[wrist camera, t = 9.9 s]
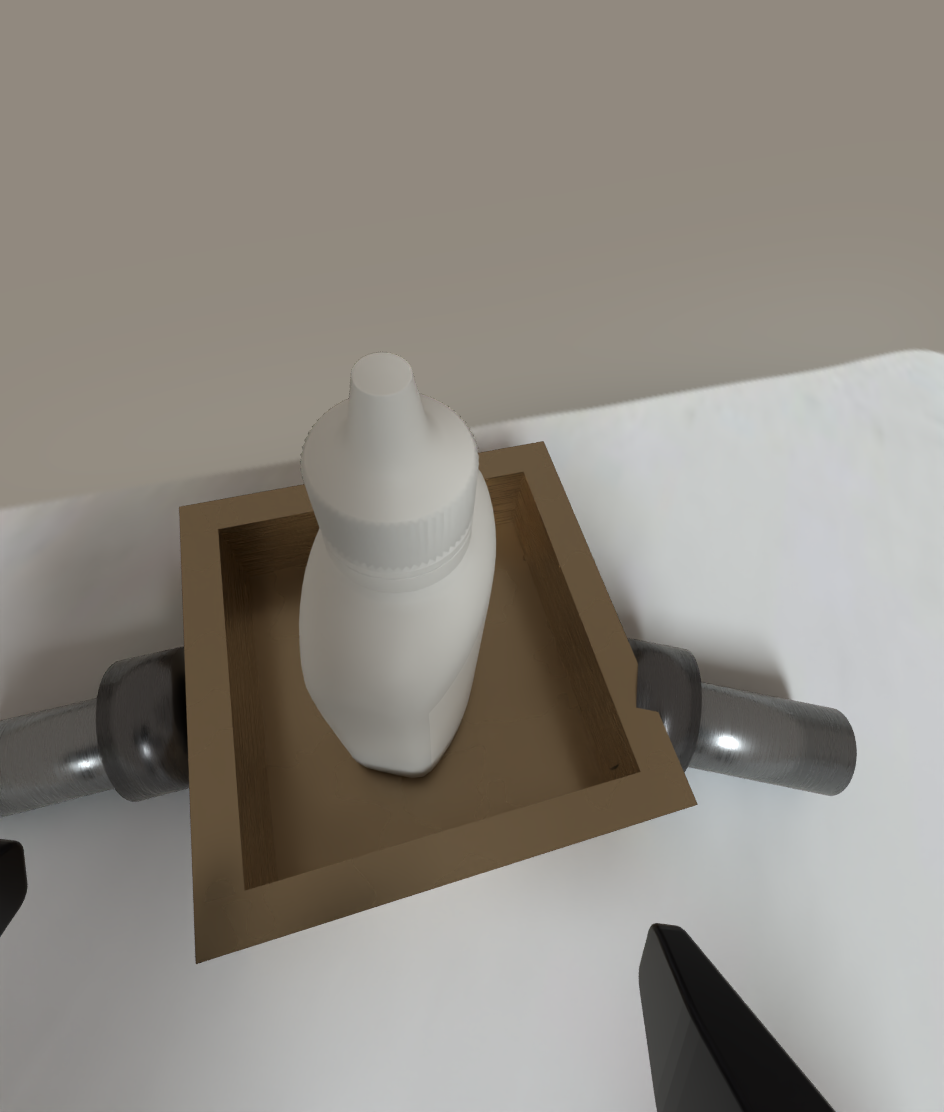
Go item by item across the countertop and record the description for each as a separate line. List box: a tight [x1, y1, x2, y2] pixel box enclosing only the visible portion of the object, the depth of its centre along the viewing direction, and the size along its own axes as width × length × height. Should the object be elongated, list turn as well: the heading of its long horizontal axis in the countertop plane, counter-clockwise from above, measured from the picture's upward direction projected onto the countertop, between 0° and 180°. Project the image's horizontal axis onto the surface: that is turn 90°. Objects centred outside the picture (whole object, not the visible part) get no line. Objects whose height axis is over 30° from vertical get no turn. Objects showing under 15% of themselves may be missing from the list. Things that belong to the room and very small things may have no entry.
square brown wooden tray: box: [179, 441, 698, 964], centre depth 16 cm, size 11×11×4 cm
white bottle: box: [299, 352, 496, 778], centre depth 12 cm, size 4×6×12 cm
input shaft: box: [0, 647, 189, 818], centre depth 14 cm, size 6×4×4 cm, turn 105°
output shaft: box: [610, 638, 857, 796], centre depth 16 cm, size 6×4×4 cm, turn 79°
